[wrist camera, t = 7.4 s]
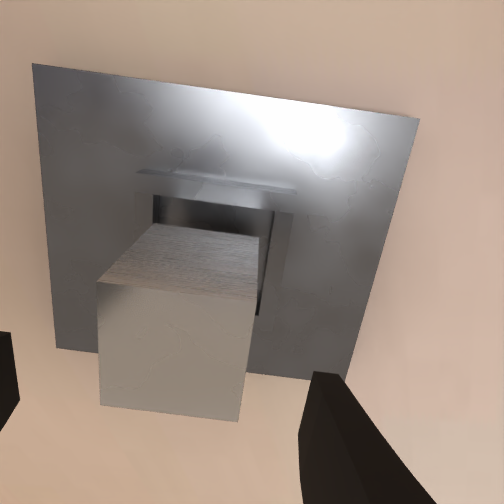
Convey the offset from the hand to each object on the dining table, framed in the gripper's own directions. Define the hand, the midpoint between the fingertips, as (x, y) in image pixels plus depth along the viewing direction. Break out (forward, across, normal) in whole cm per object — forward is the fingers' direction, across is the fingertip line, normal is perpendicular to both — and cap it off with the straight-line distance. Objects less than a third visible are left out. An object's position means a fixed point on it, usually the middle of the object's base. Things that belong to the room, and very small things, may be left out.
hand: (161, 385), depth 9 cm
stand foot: (+10, 0, 0) cm, 10 cm away
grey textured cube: (+6, 0, 0) cm, 6 cm away
